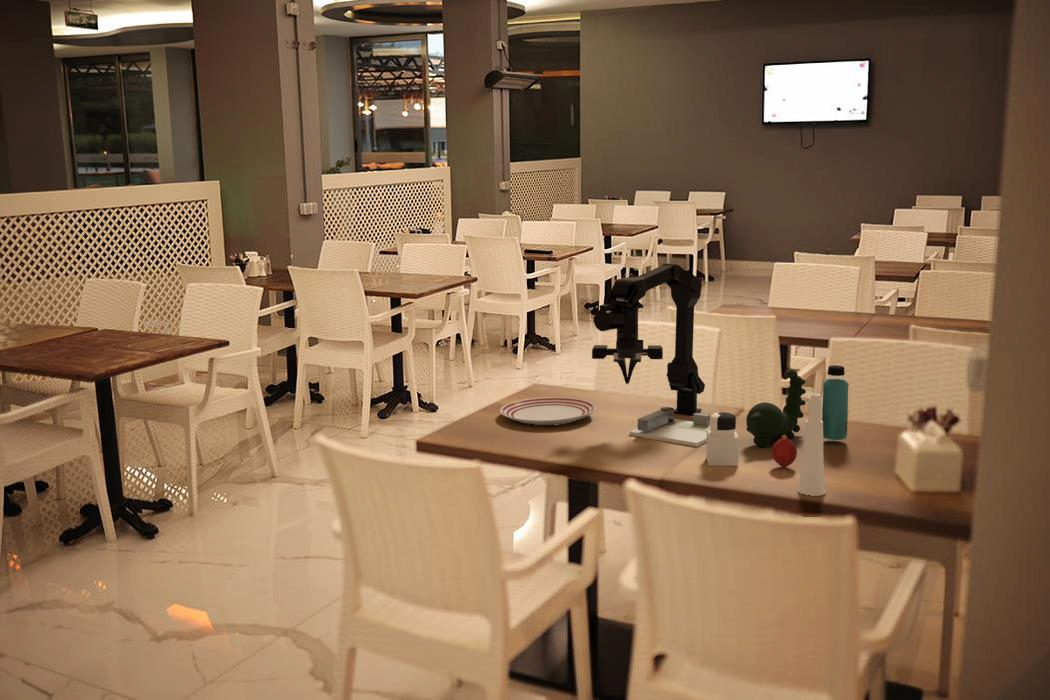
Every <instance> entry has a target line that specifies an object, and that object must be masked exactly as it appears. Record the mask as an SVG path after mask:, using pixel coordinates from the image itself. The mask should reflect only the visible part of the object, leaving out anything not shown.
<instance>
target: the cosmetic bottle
mask: <svg viewBox="0 0 1050 700" xmlns="http://www.w3.org/2000/svg"><path fill="white" fill-rule="evenodd" d="M821 395H822V394H820V393H810V394H809V398H808V400H807V401H808V404H807V406H808V407H807V419H806V420H805V425H804V435H803V436H804V437H803V445H802V446H803V448H802V459H801V468H800V475H799V482H798V485H797V489H796V491H797V492H798V493H799V494H801V495H803V494H805V495H804V496H808V495H810V496H809V497H820V496H824V495H825V494H826V493H827V489H826V481H825V473H824V472H825V471H824V469H825V468H824V438H823V421H822V420H821V419H822V405H823V399H821Z"/></svg>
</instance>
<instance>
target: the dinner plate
mask: <svg viewBox="0 0 1050 700" xmlns="http://www.w3.org/2000/svg"><path fill="white" fill-rule="evenodd" d="M596 409H597V406H596V404H595V403H593V402H591V401H589V400H586V399H582V398H575V397H565V396H564V397H562V396H561V397H560V396H550V397H549V396H548V397H534V398H526V399H521V400H517V401H516V400H515V401H513V402H509V403H507V404H505V405H503V406H502V407H500V409H499V413H500V415H501V416H503V417H506V418H507V419H510V420H513V421H516V422H518V423H519V422H520V423H522V424H525V423H528V424H527V425H530V424H536V425H535V426H538V425H555V424H563V425H565V424H564V423H568V424H570V423H569V422H572V421H575V422H576V420H577V421H578V420H581V419H583V418H586V417H588V416H591V414H593V413H594V412H595V411H596ZM572 423H573V422H572ZM555 426H556V425H555Z"/></svg>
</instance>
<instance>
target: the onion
mask: <svg viewBox="0 0 1050 700" xmlns="http://www.w3.org/2000/svg"><path fill="white" fill-rule="evenodd" d="M781 437H782V438H781V439H780V440H778V439H777V441H776V442H774V444H773V445H772V448H771V452H770V453H771V457H772V459H773V460H774V461H775V463H777V464H778V465H779V466H780V467H781V468H782V469H786V468H787V467H789V466H791V465H792V464H793V463H794V462H795V460H796V459H797V455H798V450H797V447H796V445H795V444H794V443H793V441H792V439H788V438H787V437H786V436H785V435H783V436H781Z"/></svg>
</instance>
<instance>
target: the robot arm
mask: <svg viewBox="0 0 1050 700" xmlns="http://www.w3.org/2000/svg"><path fill="white" fill-rule="evenodd" d="M613 282H614V283H613V286H612V288H610V289H611V290H610V292H609V294H608V296H607V298H606V301H605V302H604V304H600V305H599V309H598V310H597V311H596V312H595V314H594V316H593V323H594V324H593V325H594V326H595V328H596V329H597V330H599V331H600V332H606V331H607V332H608V331H612V330H616V342H615V347H614V348H613V347H612V348H608V344H594V346H593V347H592V348H591V359H593V360H604V359H606V357H607V356H613V359H612V360H613V362H614V363H617V364H618V366H619V368H620V370H621V374H622V376H623V379H624V382H625V384H626V385H629V384H630V381H631V378H632V374H633V372H634V369H635V367H636V365H637V364H638V363H641V362H642V356H644V357H645V356H646V357H648V358H649V359H650V360H663V359H664V358H663V355H664V353H663V351H664V350H663V349H664V347H662V345H656V344H655V345H647V348H644V339H639V309H643V308H644V304H643V303H641V301H640V300H642V299H643V298H644V297H646V293H647V292H648V291H649V290H652V289H654V288H656V287H658V286H660V285H663V284H666V285H667V287H668V288H670V296H671V299H672V301H673V303H674V305H675V306H676V307H675V309H676V311H675V312H676V315H675V316H676V317H675V338H674V339H675V340H674V341H675V342H674V343H675V345H674V357H673V359H672V360H671V362H668V363H667V364H666V367H667V372H666V377H667V381H668V384H669V385H668V386H669V389H670V391H675V392H676V408H675V409H674V412H675V413H674V414H681V415H688V416H693V414H695V413H700V412H701V411H703V410H702V408H698V394H699V395H700V394H702V393H704V391H705V388H706V387H705V386H706V384H705V383H704V382H703V380H702V378H701V377H700V375H699V367H698V365H697V363H696V361H695V359H694V357H693V355H694V354H693V351H694V325H695V323H694V321H695V306H696V305H697V303H698V302H699V301H700V299H701V293H702V286H703V285H702V284H703V283H702V280H701V279H700V278H699V277H698V276H697V275H694V274H693V273H692V272H690V271H688V270H686V269H684V268H683V267H682V266H681V265H679V264H677V263H668V262H666V263H662V264H661V265H660V266H658V267H656V268H653V269H651V270H649V271H647V272H645V273H642V274H640V275H638V276H633V277H632V276H631V277H629V276H627V277H621V278H618V279H616V280H615V281H613ZM626 359H629V365H628V370H627V363H626V362H627V361H626Z"/></svg>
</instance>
